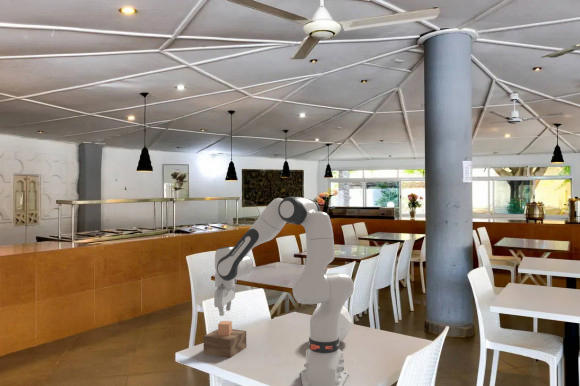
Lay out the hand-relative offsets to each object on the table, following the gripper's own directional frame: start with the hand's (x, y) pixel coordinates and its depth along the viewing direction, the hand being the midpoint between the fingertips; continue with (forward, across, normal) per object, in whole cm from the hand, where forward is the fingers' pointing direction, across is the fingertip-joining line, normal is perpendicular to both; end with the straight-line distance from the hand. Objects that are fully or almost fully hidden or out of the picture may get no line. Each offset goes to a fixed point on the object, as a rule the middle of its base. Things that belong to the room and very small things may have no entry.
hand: (225, 312), depth 196 cm
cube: (+10, 0, 0) cm, 10 cm away
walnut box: (+18, +1, 0) cm, 18 cm away
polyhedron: (+18, +19, -47) cm, 54 cm away
